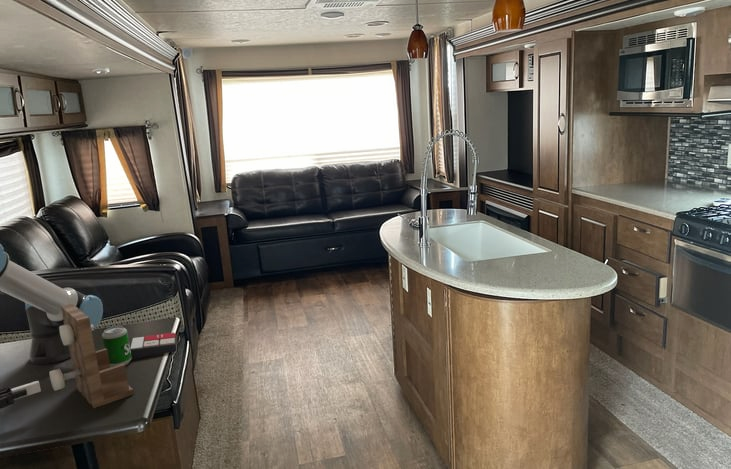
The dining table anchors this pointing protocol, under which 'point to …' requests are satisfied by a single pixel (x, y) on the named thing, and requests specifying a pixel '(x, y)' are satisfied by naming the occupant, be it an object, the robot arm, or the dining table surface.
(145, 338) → the calculator
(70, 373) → the lower knob
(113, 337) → the soda can
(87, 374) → the knob panel
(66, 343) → the upper knob
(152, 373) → the dining table surface
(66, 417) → the dining table surface
